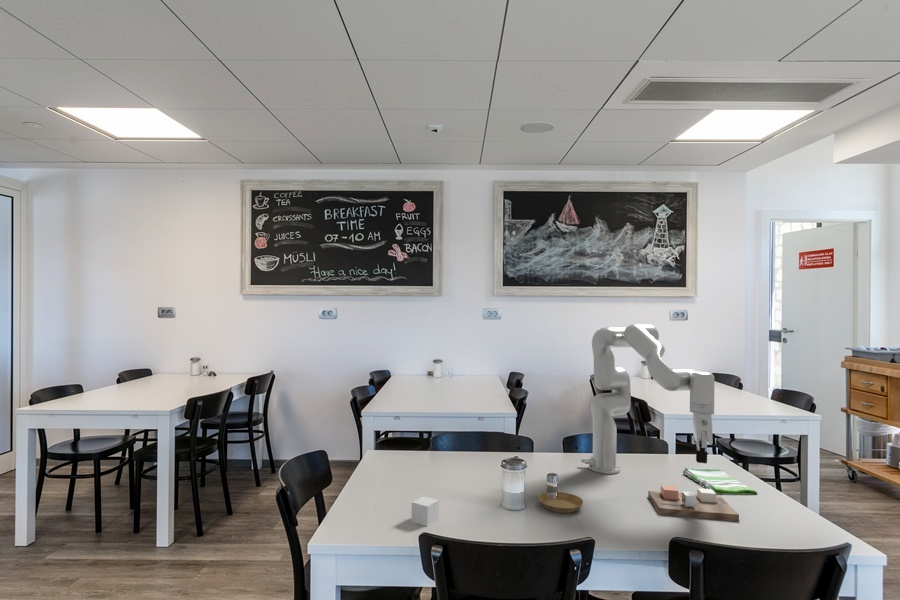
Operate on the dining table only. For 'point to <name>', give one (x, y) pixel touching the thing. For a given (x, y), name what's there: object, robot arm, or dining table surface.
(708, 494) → the cream button
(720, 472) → the dish towel
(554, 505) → the plant saucer
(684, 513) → the switch board
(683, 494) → the slider knob
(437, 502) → the white cube
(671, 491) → the terracotta button
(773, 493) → the dining table surface
